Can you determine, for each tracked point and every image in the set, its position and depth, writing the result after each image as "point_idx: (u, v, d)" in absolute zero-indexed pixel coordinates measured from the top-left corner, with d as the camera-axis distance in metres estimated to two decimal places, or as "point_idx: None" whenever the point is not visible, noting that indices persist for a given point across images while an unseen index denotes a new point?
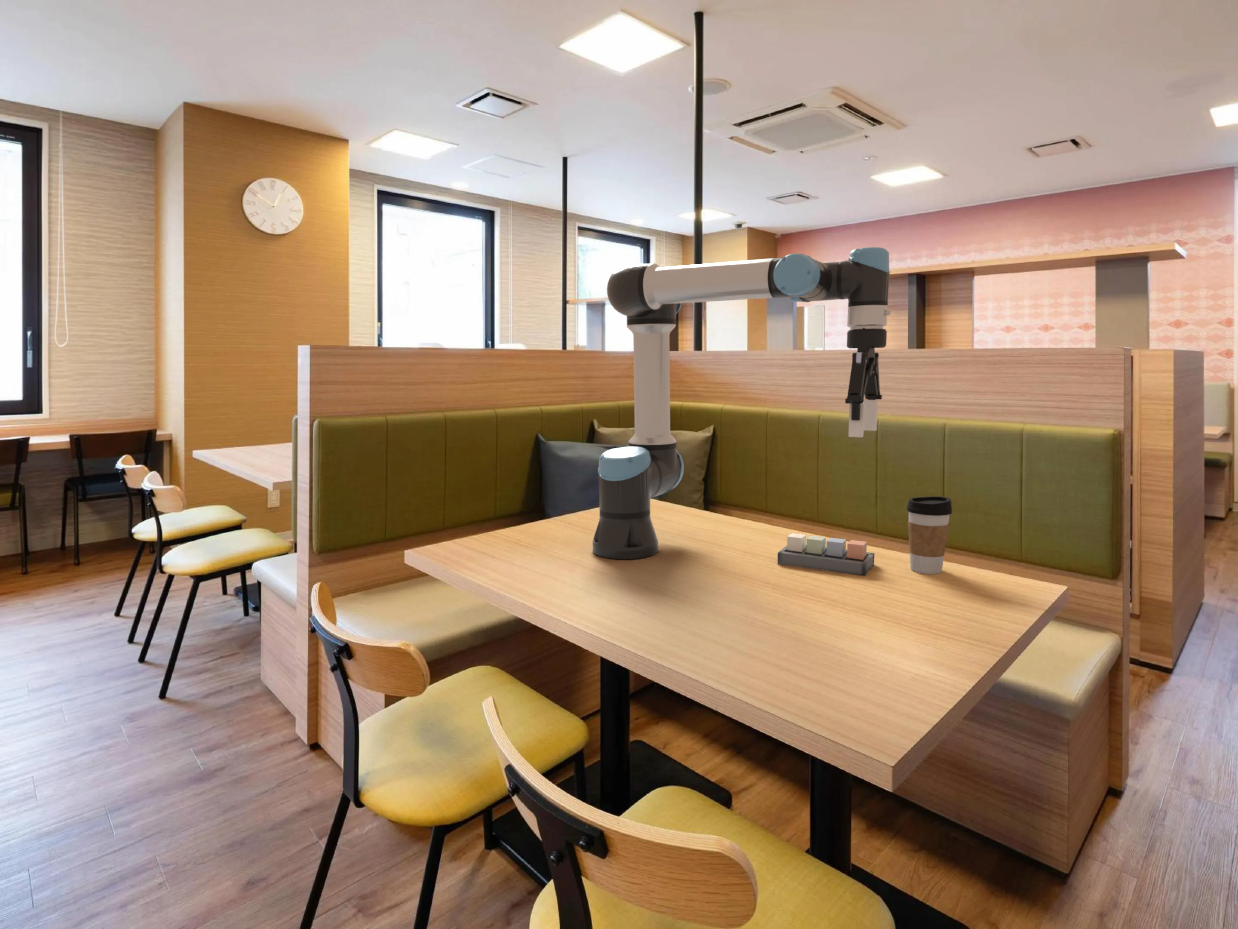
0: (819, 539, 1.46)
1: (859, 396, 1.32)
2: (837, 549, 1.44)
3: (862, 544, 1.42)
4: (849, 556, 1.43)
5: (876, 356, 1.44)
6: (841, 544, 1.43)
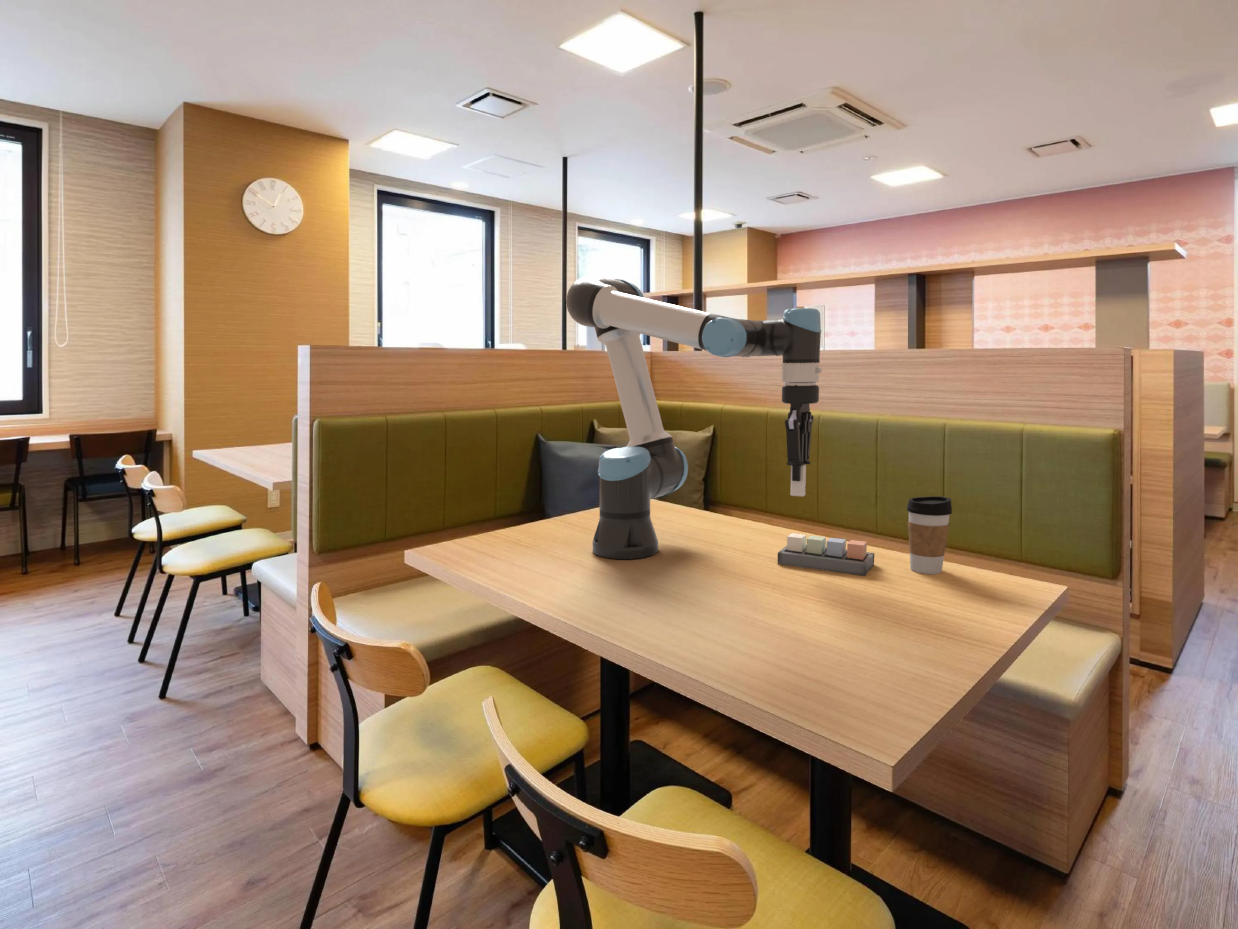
0: (819, 539, 1.46)
1: (798, 462, 1.43)
2: (837, 549, 1.44)
3: (862, 544, 1.42)
4: (849, 556, 1.43)
5: (811, 417, 1.50)
6: (841, 544, 1.43)
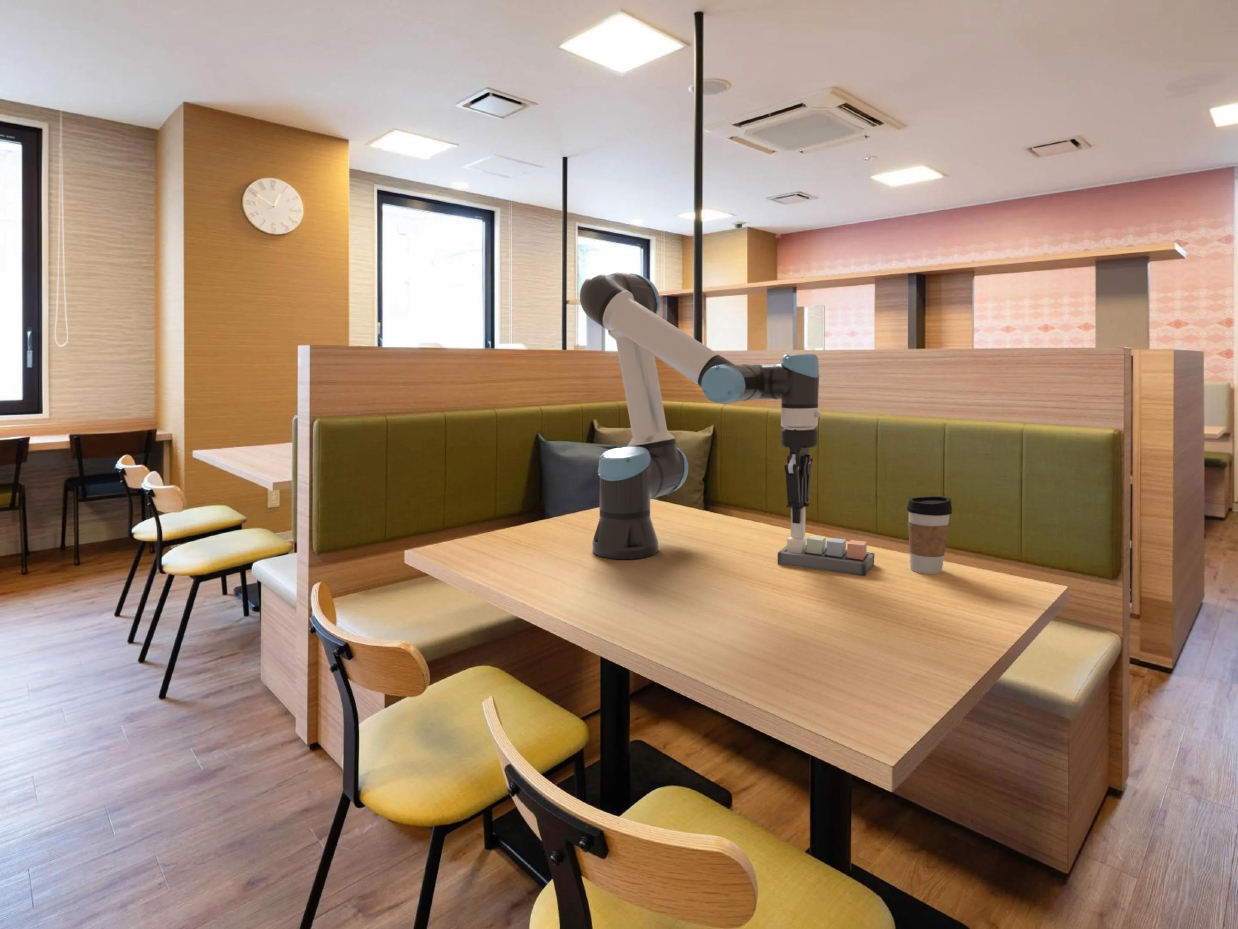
0: (819, 539, 1.46)
1: (798, 505, 1.45)
2: (837, 549, 1.44)
3: (862, 544, 1.42)
4: (849, 556, 1.43)
5: None
6: (841, 544, 1.43)
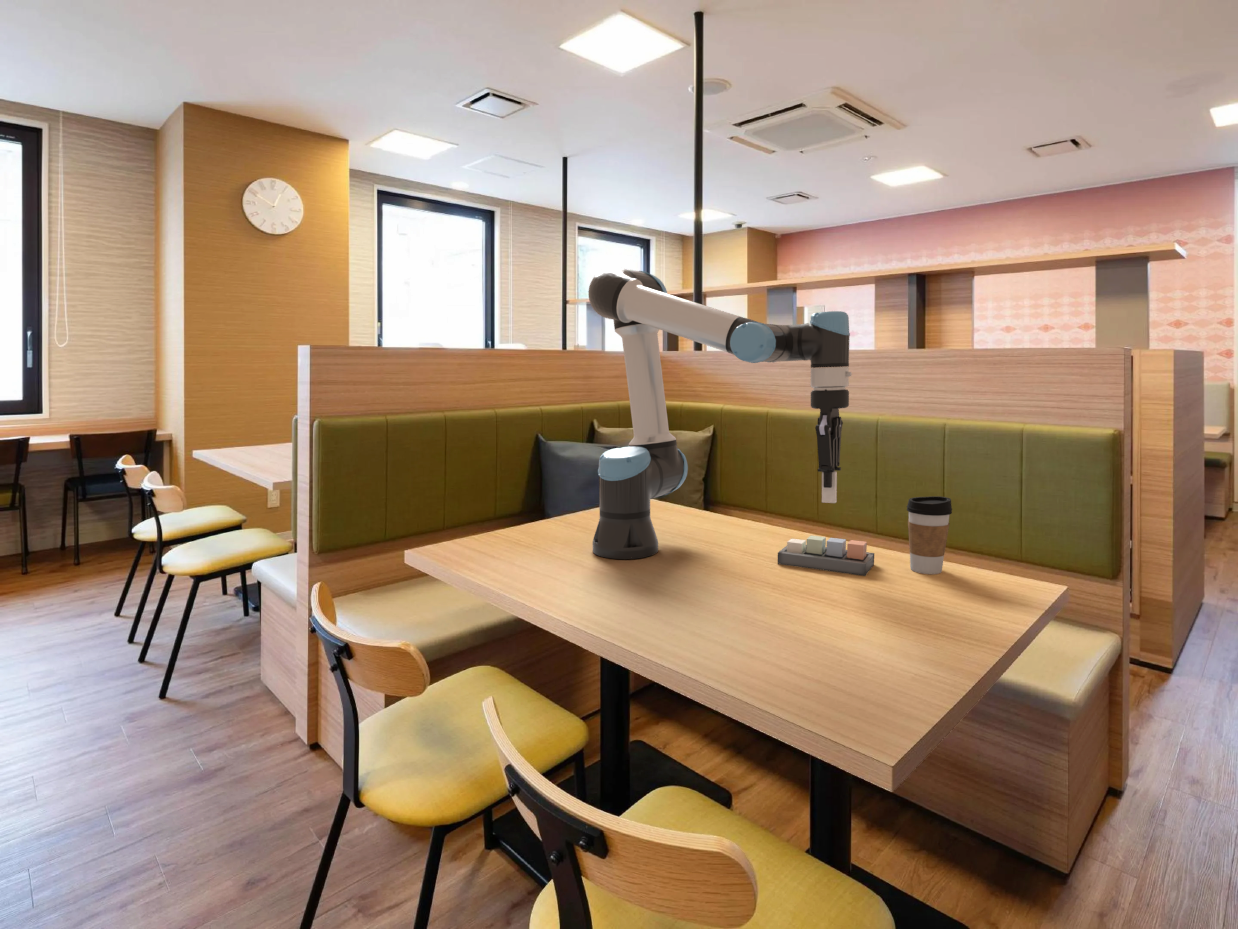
0: (819, 539, 1.46)
1: (830, 468, 1.40)
2: (837, 549, 1.44)
3: (862, 544, 1.42)
4: (849, 556, 1.43)
5: None
6: (841, 544, 1.43)
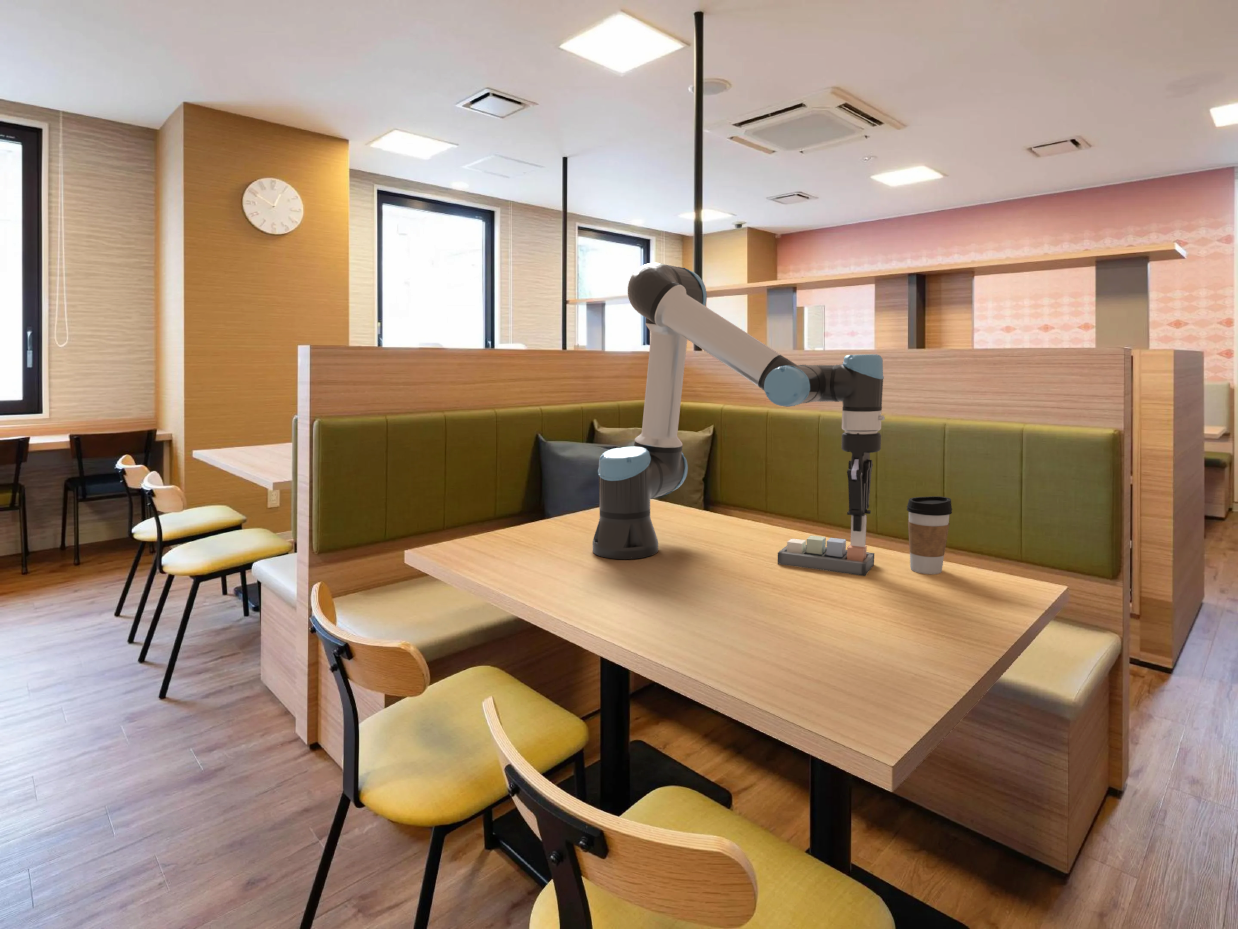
0: (819, 539, 1.46)
1: (860, 512, 1.39)
2: (837, 549, 1.44)
3: (862, 548, 1.42)
4: None
5: None
6: (841, 544, 1.43)
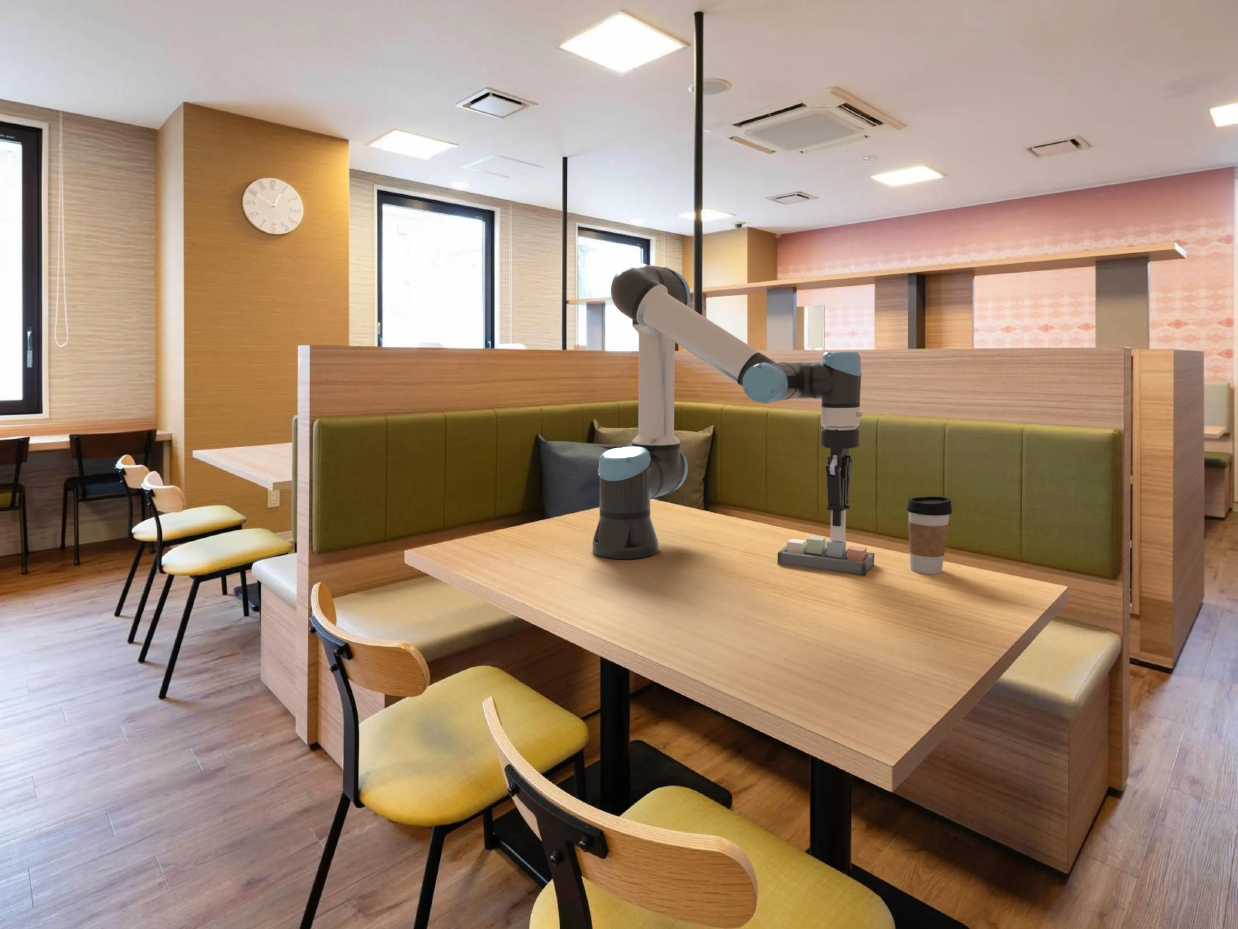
0: (819, 539, 1.46)
1: (839, 507, 1.41)
2: (837, 550, 1.44)
3: (862, 550, 1.42)
4: None
5: None
6: (841, 545, 1.43)
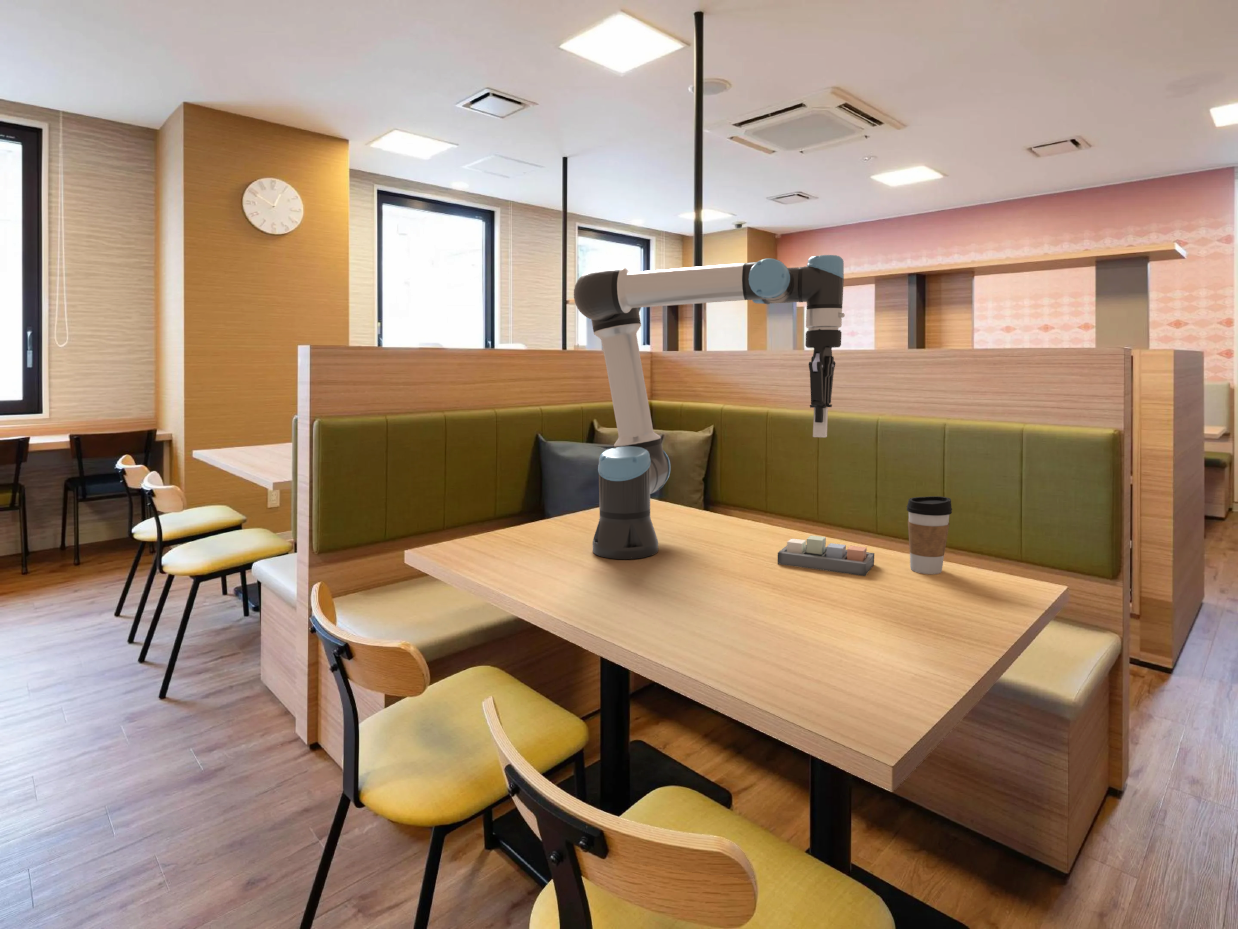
0: (819, 539, 1.46)
1: (821, 403, 1.50)
2: (836, 555, 1.44)
3: (862, 550, 1.42)
4: None
5: (833, 363, 1.56)
6: (841, 550, 1.44)
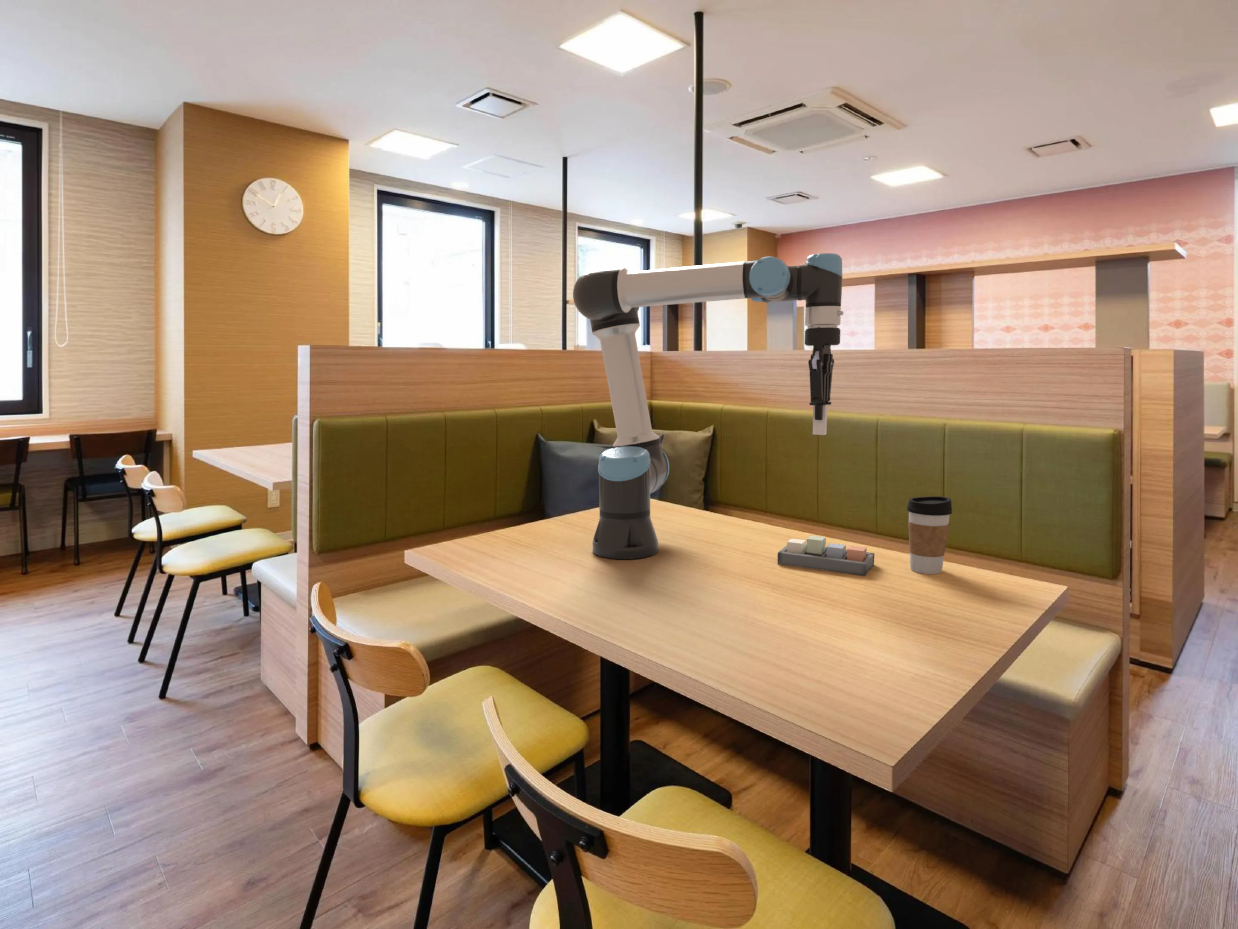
0: (819, 539, 1.46)
1: (821, 400, 1.51)
2: (836, 555, 1.44)
3: (862, 550, 1.42)
4: None
5: (832, 360, 1.57)
6: (841, 550, 1.44)
